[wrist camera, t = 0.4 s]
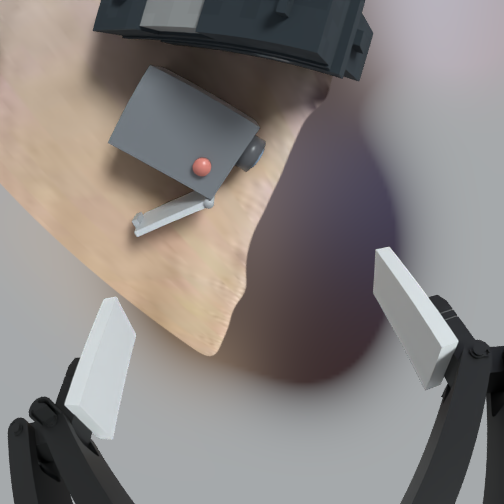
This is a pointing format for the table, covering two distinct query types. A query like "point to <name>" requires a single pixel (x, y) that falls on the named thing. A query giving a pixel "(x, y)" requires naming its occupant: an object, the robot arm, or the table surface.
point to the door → (170, 212)
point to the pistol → (251, 29)
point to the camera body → (186, 132)
